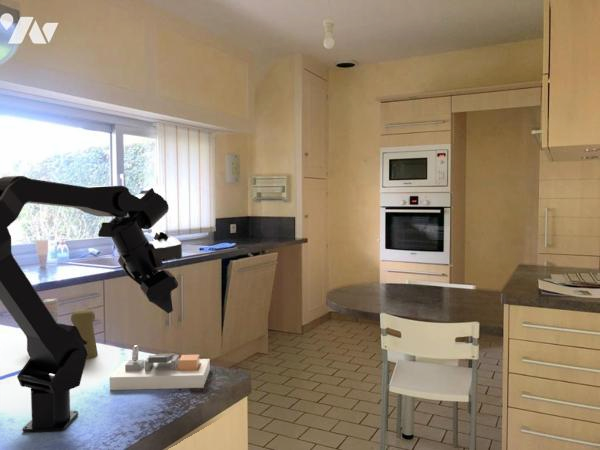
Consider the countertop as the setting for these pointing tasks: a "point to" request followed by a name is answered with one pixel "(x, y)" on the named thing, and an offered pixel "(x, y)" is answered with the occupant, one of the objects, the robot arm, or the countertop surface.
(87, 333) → the cork
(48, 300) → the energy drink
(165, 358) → the rocker switch
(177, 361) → the switch panel
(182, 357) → the push button
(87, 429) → the countertop surface
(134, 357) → the toggle lever
